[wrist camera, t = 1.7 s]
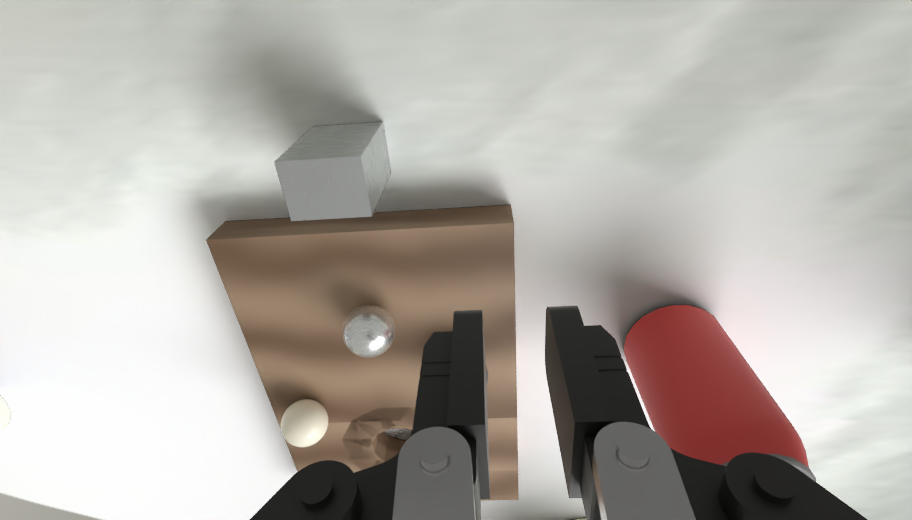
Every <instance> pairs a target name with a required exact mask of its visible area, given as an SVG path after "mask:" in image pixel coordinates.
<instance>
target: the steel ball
mask: <svg viewBox="0 0 912 520" xmlns="http://www.w3.org/2000/svg"><path fill="white" fill-rule="evenodd" d="M342 336H343V340H344V343H345V345H346V346H347V348H348V349H349V350H350V351H351V352H352V353H354V354H356V355H358V356H360V357H365V358H371V357H376V356H379V355H381V354H383V353H384V352H385V351H386V350H388V348H389V347H390V346H391V344H392V343H393V340H394V337H395V324H394V321H393V318H392V317H391V315H390V314H389V313H388V312H387V311H386V310H385V309H383V308H381V307H379V306H376V305H363V306H360V307H358V308H356V309H354V310H353V311H352V312H350V313H349V315H348V316H347V317H346V319H345V321H344V324H343V328H342Z"/></svg>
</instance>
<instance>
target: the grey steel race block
mask: <svg viewBox="0 0 912 520" xmlns="http://www.w3.org/2000/svg"><path fill="white" fill-rule="evenodd" d="M274 163H275V166H276V170H277V173H278V177H279V180H280V184H281V187H282V191H283V194H284V198H285V201H286V205H287V208H288V212H289V215H290V219H291V221H303V220H321V219H338V218H356V217H372V216H373V213H374V211H375V209H376V206H377V204H378V202H379V199H380V197H381V195H382V192H383V190H384V188H385V185H386V183H387V181H388V178H389V176H390V174H391V170H390V164H389V157H388V151H387V144H386V138H385V131H384V125H383V122H371V123H357V124H343V125H329V126H315V127H312V128H311V129H310V130H309V131H308V132H307V133H306V134H304V135H303V136H302V137H301V138H300V139H299V140H298V141H297V142H296V143H294V144H293V145H292V146H291V147H290V148H289V149H288V150H287V151H286V152H285V153H283V154H282V155H281V156H280V157H279V158H278V159H277V160H276V161H275V162H274Z"/></svg>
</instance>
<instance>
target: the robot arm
mask: <svg viewBox="0 0 912 520" xmlns="http://www.w3.org/2000/svg"><path fill="white" fill-rule="evenodd" d="M545 365H546V375H547V381H548V386H549V392H550V397H551V403H552V408H553V413H554V419H555V424H556V430H557V435H558V440H559V446H560V451H561V457H562V462H563V467H564V473H565V478H566V484H567V489H568V494H569V498H582V500H583V504H584V509H585V514H586V520H867V519H866V518H864V517H863V516H862V515H860V514H859V513H858V512H856V511H855V510H853V509H852V508H851V507H849V506H848V505H847V504H845V503H844V502H842V501H841V500H840V499H838V498H837V497H836V496H834V495H833V494H831V493H830V492H829V491H827V490H826V489H825V488H823V487H822V486H820V485H819V484H818V483H816V482H815V481H814V480H812V479H811V478H809V477H808V476H807V475H805V474H804V473H803V472H801V471H800V470H798V469H797V468H796V467H794V466H793V465H791V464H789V463H787V462H786V461H784V460H782V459H779V458H777V457H774V456H771V455H768V454H763V453H754V452H750V453H743V454H740V455H737V456H735V457H734V458H733V459H731V460H730V461H729V463H728V465H727V466H723V465H719V464H715V463H711V462H707V461H703V460H699V459H695V458H692V457H689V456H686V455H683V454H681V453H679V452H677V451H675V450H673V449H671V448H670V447H669V446H668V444H667V443H666V441H665V440H664V439H663V438H662V437H661V436H660V435H658V434H657V433H656V432H654V431H653V430H651V428H650V426H649V424H648V422H647V420H646V417H645V414H644V412H643V409H642V407H641V404H640V402H639V399H638V397H637V394H636V392H635V389H634V387H633V384H632V382H631V379H630V376H629V374H628V372H627V371H626V366H625V364H624V361H623V359H621V354H620V351H619V349H618V346H617V344H616V341H615V339H614V338H613V337H612V336H611V335H610V334H609V333H608V332H607V331H606V330H605V329H604V328H603V327H602V326H601V325H597V326H584V324H583V321H582V318H581V315H580V312H579V309H578V307H577V306H560V307H547V309H546V336H545ZM480 499H490V476H489V445H488V414H487V382H486V360H485V343H484V327H483V311H482V310H466V311H454V315H453V331H447V332H434V333H433V334H432V335H431V337H430V338H429V340H428V341H427V342H426V344H425V345H424V348H423V355H422V366H421V370H420V379H419V384H418V392H417V399H416V406H415V414H414V421H413V428H412V433H411V436H410V438H409V439H408V440H407V441H406V442H405V443H404V445H403V446H402V448H401V450H400V452H399V453H398V454H397V455H395V456H394V457H393V458H391V459H389V460H388V461H386V462H384V463H381V464H379V465H376V466H373V467H370V468H367V469H364V470H361V471H358V472H354V473H353V471H352V470H351V469H350V468H349V467H348V466H347V465H346V464H344V463H341V462H338V461H334V460H325V461H319V462H315V463H313V464H310V465H308V466H306V467H304V468H303V469H301V470H300V471H298V472H297V473H296V474H295V475H294V476H293V477H292V478H291V479H290V480H289V481H288V482H287V483H286V484H285V485H284V486H283V487H282V488H281V489H280V490H279V491H278V492H277V493H276V494H275V495H274V496H273V497H272V498H271V499H270V500H269V501H268V502H267V503H266V504H265V505H264V506H263V507H262V508H261V509H260V510H259V511H258V512H257V513H256V514H255V515H254V516H253V517H252V518H251V519H250V520H481V506H480Z"/></svg>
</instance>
